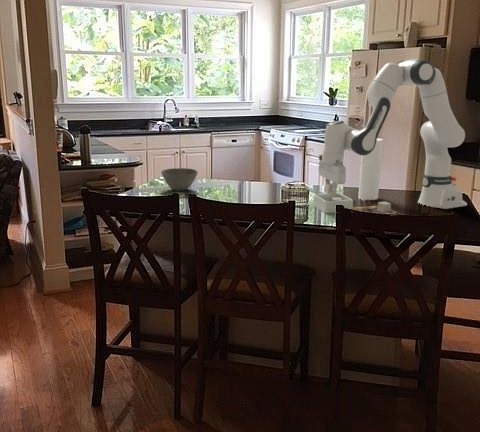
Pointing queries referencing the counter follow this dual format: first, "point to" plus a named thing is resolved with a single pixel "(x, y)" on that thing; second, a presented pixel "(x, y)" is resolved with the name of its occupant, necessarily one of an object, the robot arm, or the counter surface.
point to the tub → (331, 202)
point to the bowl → (179, 178)
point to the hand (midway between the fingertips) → (330, 189)
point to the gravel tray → (372, 208)
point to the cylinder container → (370, 173)
